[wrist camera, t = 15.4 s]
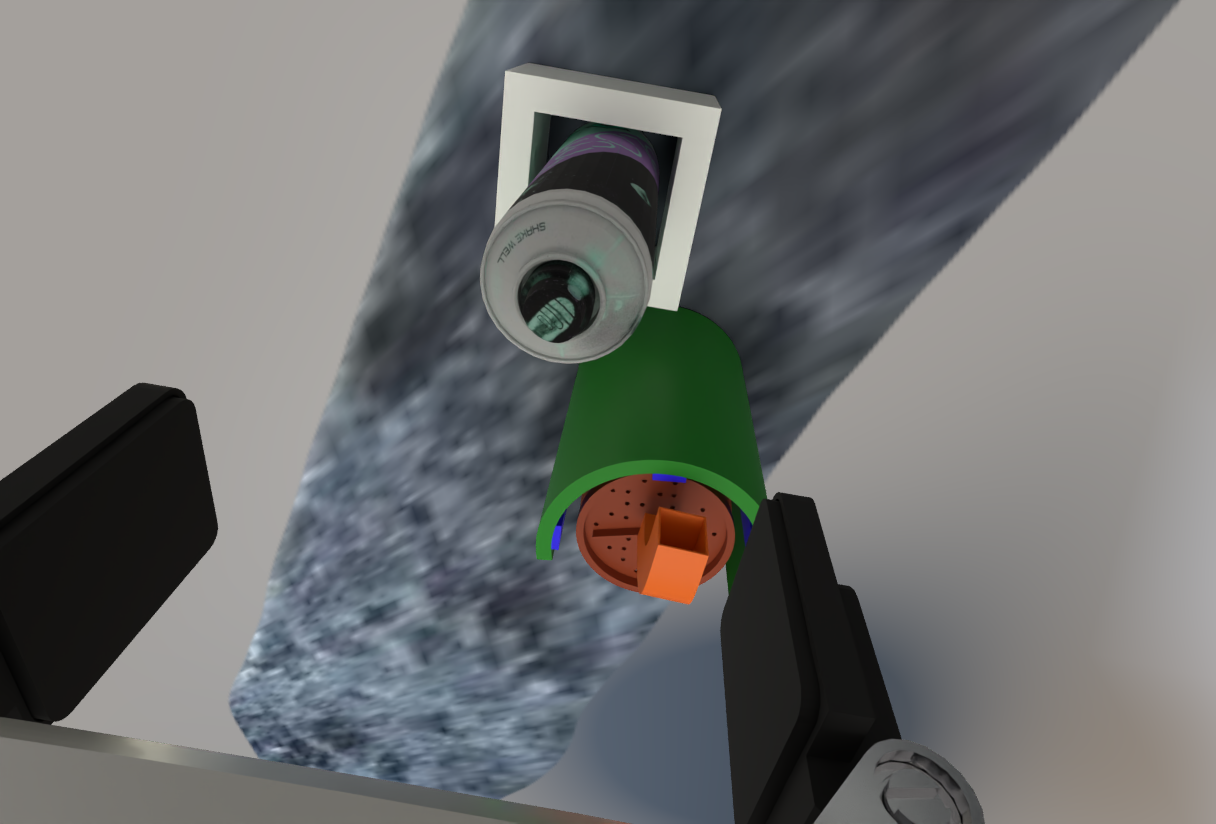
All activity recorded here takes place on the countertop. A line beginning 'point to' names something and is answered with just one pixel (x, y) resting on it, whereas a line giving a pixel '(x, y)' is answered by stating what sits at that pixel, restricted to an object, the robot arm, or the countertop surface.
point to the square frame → (624, 105)
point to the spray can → (577, 248)
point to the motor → (659, 460)
